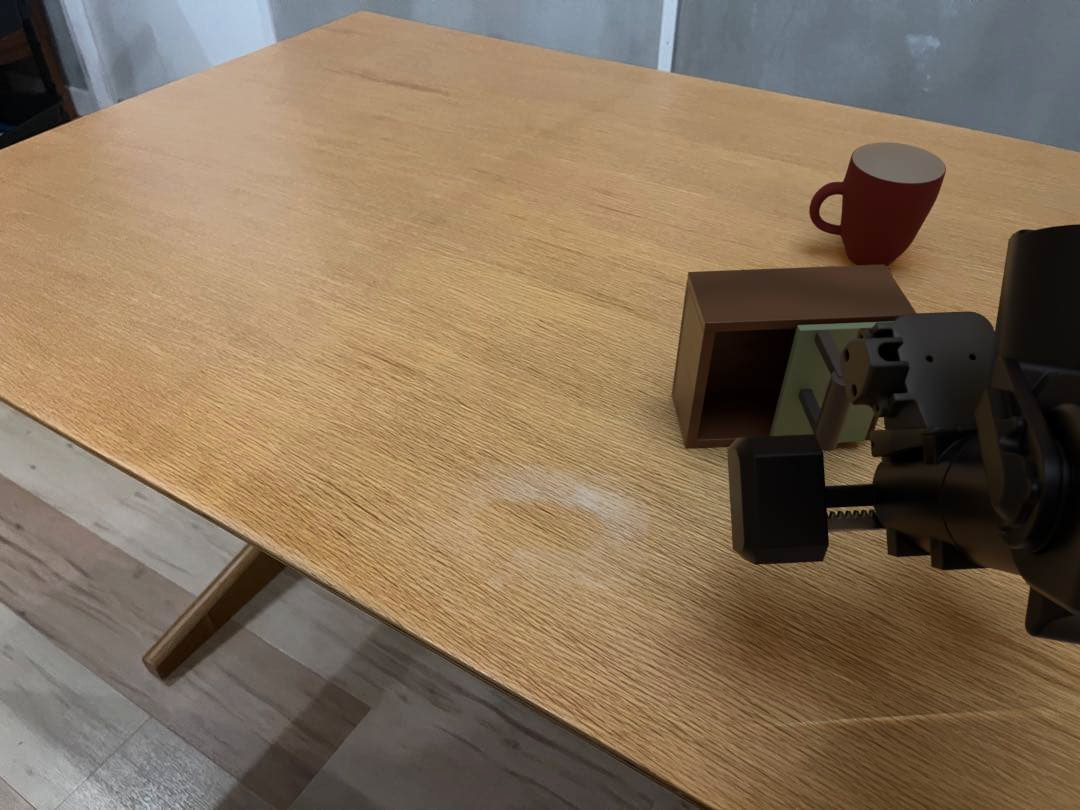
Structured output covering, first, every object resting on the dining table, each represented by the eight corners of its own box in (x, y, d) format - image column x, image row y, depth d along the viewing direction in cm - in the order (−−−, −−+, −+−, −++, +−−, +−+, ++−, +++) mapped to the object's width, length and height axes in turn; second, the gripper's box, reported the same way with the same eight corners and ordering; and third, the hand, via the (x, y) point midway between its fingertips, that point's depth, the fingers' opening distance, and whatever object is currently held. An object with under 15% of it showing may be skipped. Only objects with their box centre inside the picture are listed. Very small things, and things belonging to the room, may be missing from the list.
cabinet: (871, 440, 61) (918, 314, 53) (685, 448, 61) (705, 323, 53) (844, 387, 66) (884, 263, 58) (671, 394, 65) (687, 271, 57)
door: (890, 496, 56) (940, 379, 49) (790, 501, 56) (825, 384, 49) (861, 436, 61) (903, 320, 53) (767, 440, 60) (797, 324, 53)
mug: (807, 280, 77) (831, 181, 70) (794, 234, 83) (815, 140, 76) (922, 283, 76) (958, 185, 69) (901, 238, 82) (932, 143, 75)
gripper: (1212, 297, 34) (993, 343, 50) (772, 314, 34) (689, 356, 49) (1235, 565, 34) (1006, 527, 49) (788, 588, 33) (699, 543, 49)
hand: (851, 483), depth 49 cm, fingers open, 9 cm apart
